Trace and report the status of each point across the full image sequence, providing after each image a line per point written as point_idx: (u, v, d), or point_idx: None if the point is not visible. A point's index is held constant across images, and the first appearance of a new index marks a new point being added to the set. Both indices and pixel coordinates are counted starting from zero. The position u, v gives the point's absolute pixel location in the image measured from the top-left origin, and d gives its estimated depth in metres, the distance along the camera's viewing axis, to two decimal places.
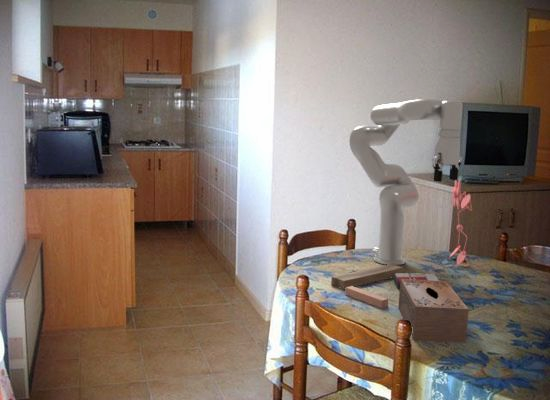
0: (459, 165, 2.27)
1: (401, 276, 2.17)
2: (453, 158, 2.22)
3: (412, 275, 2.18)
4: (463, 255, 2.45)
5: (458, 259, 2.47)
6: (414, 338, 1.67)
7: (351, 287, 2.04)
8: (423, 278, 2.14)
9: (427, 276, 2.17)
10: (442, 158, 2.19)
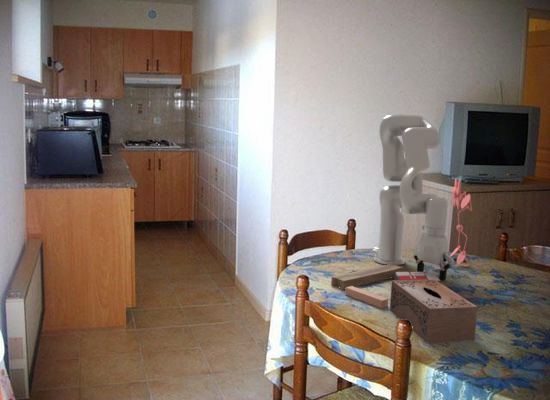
0: None
1: (402, 275, 2.19)
2: None
3: (412, 274, 2.20)
4: (463, 255, 2.45)
5: (458, 259, 2.47)
6: (428, 341, 1.66)
7: (351, 287, 2.04)
8: (423, 277, 2.16)
9: (427, 275, 2.19)
10: None
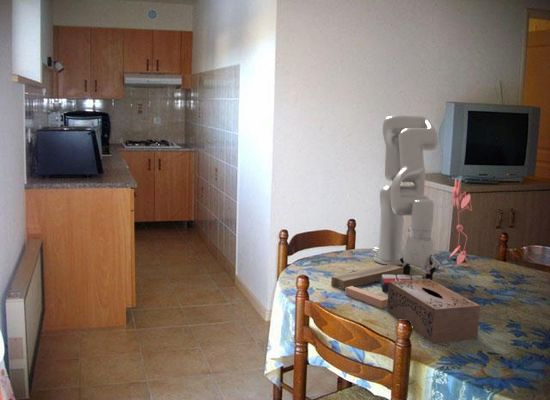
0: None
1: (387, 277, 2.14)
2: None
3: (399, 277, 2.15)
4: (463, 255, 2.45)
5: (458, 259, 2.47)
6: (434, 341, 1.65)
7: (351, 287, 2.04)
8: None
9: (414, 278, 2.14)
10: None
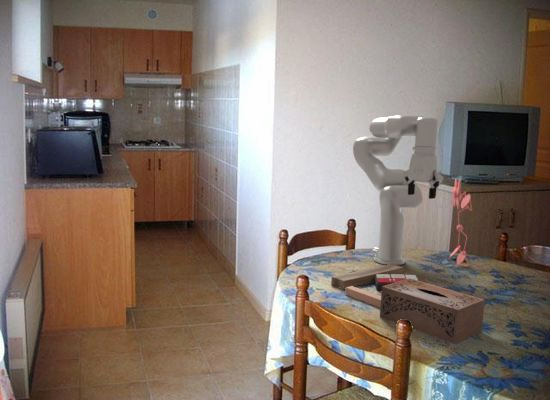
0: None
1: (381, 277, 2.15)
2: None
3: (393, 276, 2.16)
4: (463, 255, 2.45)
5: (458, 259, 2.47)
6: (456, 342, 1.66)
7: (351, 287, 2.04)
8: (403, 279, 2.12)
9: (408, 277, 2.14)
10: None
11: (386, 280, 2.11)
